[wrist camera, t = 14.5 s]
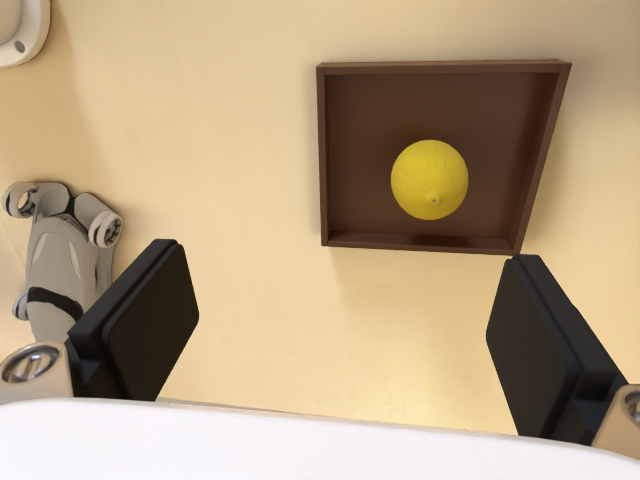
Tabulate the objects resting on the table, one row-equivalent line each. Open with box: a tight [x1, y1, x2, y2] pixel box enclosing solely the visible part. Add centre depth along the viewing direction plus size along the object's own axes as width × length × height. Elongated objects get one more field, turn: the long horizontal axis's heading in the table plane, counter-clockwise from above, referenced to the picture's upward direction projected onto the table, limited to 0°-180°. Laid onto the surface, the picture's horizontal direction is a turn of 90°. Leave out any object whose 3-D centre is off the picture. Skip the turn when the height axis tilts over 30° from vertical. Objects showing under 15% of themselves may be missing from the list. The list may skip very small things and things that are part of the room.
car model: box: [2, 182, 123, 344], centre depth 43 cm, size 11×24×5 cm, turn 161°
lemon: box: [391, 140, 468, 220], centre depth 29 cm, size 6×6×8 cm
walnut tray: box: [316, 59, 572, 256], centre depth 32 cm, size 17×15×2 cm
